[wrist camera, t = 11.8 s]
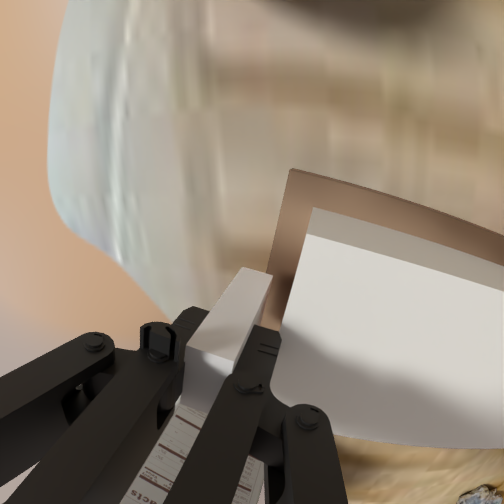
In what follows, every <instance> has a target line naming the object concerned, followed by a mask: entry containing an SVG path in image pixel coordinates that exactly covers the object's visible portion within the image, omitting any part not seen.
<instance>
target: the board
mask: <svg viewBox="0 0 504 504" xmlns="http://www.w3.org/2000/svg"><path fill="white" fill-rule="evenodd" d="M313 207H315V208H319V209H323V210H326V211H330V212H334V213H337V214H341V215H345V216H348V217H352V218H355V219H359V220H362V221H366V222H369V223H373V224H376V225H380V226H383V227H386V228H390V229H393V230H396V231H400V232H403V233H406V234H409V235H413V236H416V237H419V238H422V239H425V240H428V241H431V242H434V243H438V244H441V245H444V246H447V247H450V248H453V249H456V250H459V251H461V252H464V253H467V254H470V255H473V256H476V257H479V258H482V259H484V260H487V261H490V262H493V263H496V264H498V265H501V266H504V236H503V235H501V234H498V233H496V232H493V231H491V230H488V229H486V228H483V227H481V226H478V225H476V224H473V223H470V222H468V221H465V220H462V219H460V218H457V217H454V216H452V215H449V214H446V213H443V212H440V211H438V210H435V209H432V208H429V207H426V206H423V205H420V204H417V203H414V202H411V201H408V200H405V199H402V198H399V197H395V196H392V195H389V194H386V193H382V192H379V191H376V190H372V189H369V188H366V187H362V186H359V185H355V184H352V183H348V182H344V181H341V180H337V179H333V178H330V177H326V176H322V175H318V174H314V173H310V172H306V171H302V170H298V169H294V168H292V169H291V170H289V175H288V179H287V184H286V188H285V193H284V197H283V201H282V206H281V210H280V215H279V219H278V224H277V228H276V232H275V237H274V241H273V245H272V250H271V254H270V258H269V262H268V267H267V271H266V274H270V275H273V278H272V282H271V286H270V290H269V294H268V298H267V302H266V305H265V309H264V313H263V317H262V321H261V324H260V326H261V327H265V328H268V329H272V330H275V331H279V330H280V327H281V324H282V320H283V317H284V313H285V310H286V306H287V303H288V299H289V296H290V292H291V289H292V285H293V282H294V278H295V274H296V271H297V267H298V263H299V260H300V256H301V252H302V248H303V245H304V241H305V237H306V233H307V229H308V225H309V221H310V217H311V214H312V210H313Z"/></svg>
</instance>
